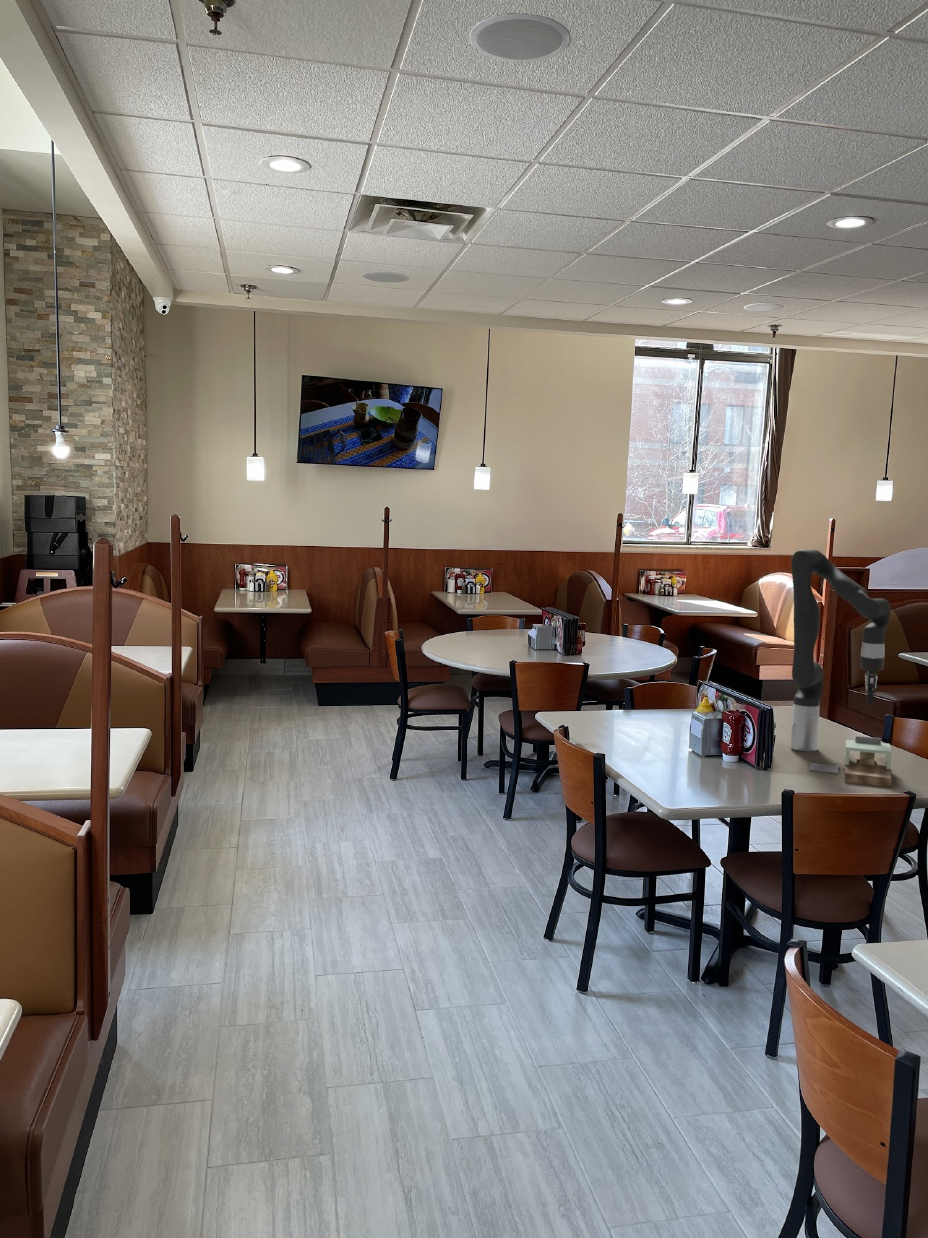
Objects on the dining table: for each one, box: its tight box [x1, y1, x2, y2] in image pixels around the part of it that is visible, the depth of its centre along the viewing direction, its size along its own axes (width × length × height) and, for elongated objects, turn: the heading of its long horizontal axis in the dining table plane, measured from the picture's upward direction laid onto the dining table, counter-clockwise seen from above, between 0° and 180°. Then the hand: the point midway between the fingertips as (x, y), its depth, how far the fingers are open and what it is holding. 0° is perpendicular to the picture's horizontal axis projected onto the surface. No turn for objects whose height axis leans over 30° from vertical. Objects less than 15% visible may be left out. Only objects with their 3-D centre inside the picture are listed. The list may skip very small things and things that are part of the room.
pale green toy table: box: [844, 735, 892, 770], centre depth 309 cm, size 14×11×8 cm
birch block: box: [859, 751, 876, 766], centre depth 311 cm, size 4×4×6 cm
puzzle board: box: [843, 754, 892, 788], centre depth 307 cm, size 14×25×3 cm, turn 157°
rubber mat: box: [809, 762, 839, 775], centre depth 313 cm, size 9×9×1 cm
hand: (869, 703), depth 316 cm, fingers open, 5 cm apart
